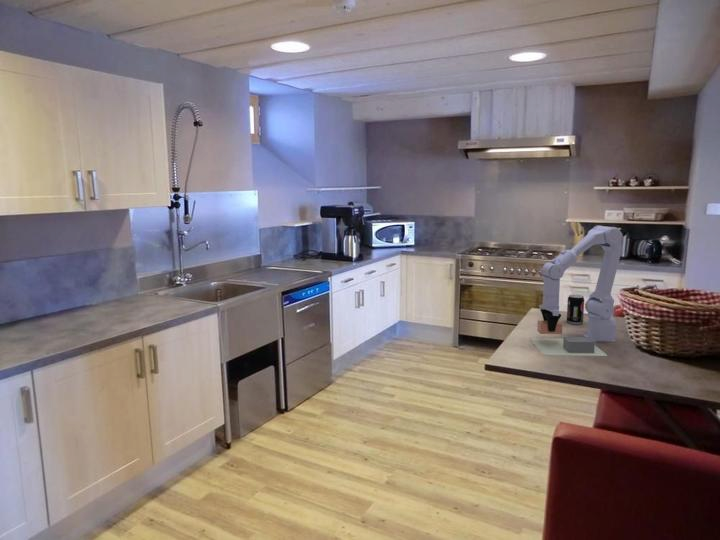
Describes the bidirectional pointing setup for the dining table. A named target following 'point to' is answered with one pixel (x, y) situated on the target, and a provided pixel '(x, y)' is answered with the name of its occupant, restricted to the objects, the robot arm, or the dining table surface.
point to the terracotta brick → (543, 328)
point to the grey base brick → (578, 344)
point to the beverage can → (575, 309)
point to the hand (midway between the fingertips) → (549, 329)
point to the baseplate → (559, 347)
